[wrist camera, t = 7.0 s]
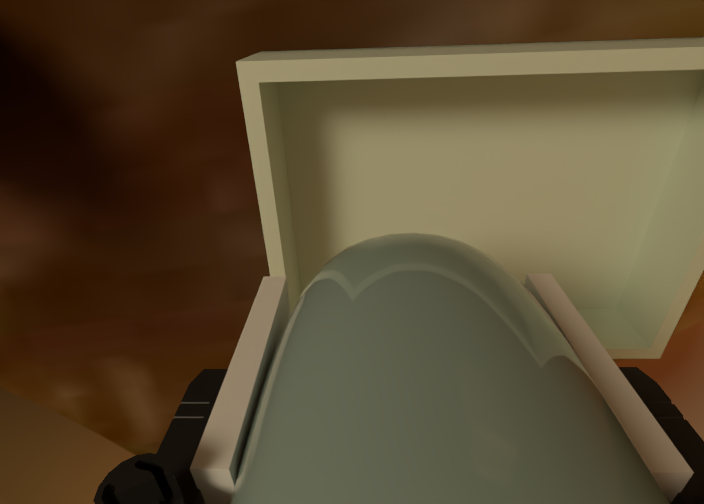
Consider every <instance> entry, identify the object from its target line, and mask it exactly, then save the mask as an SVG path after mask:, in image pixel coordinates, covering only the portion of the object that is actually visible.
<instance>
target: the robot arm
mask: <svg viewBox="0 0 704 504" xmlns="http://www.w3.org/2000/svg"><path fill="white" fill-rule="evenodd" d="M524 286H525V287H526V288H527V289H528V290H529V291H530V292H531V293H532V294H533V296H534V297H535V298H536V299H537V301H538V302H539V303H540V305H541V306H542V307H543V308H544V310H545V311H546V312H547V313H548V315H549V316H550V318H551V319H552V320H553V322H554V323H555V325H556V326H557V327H558V329H559V330H560V332H561V333H562V334H563V336H564V337H565V339H566V340H567V342H568V343H569V345H570V346H571V347H572V349H573V350H574V352H575V353H576V355H577V356H578V358H579V359H580V361H581V362H582V364H583V365H584V367H585V368H586V370H587V371H588V373H589V374H590V376H591V377H592V379H593V380H594V382H595V383H596V385H597V386H598V388H599V389H600V391H601V392H602V394H603V396H604V397H605V399H606V400H607V402H608V403H609V405H610V407H611V408H612V410H613V411H614V413H615V414H616V416H617V417H618V419H619V421H620V422H621V424H622V425H623V427H624V428H625V430H626V432H627V433H628V435H629V436H630V438H631V440H632V441H633V443H634V444H635V446H636V448H637V449H638V451H639V452H640V454H641V456H642V457H643V459H644V460H645V462H646V464H647V465H648V467H649V468H650V470H651V472H652V473H653V475H654V476H655V478H656V480H657V481H658V483H659V484H660V486H661V488H662V489H663V491H664V492H665V494H666V496H667V497H668V499H669V500H670V502H671V504H704V441H703V440H702V439H701V438H700V436H699V435H698V434H697V433H696V432H695V430H694V429H693V428H692V426H691V425H690V424H689V423H688V421H687V420H684V419H683V415H682V414H681V413H680V411H679V410H678V409H677V407H676V406H675V405H674V404H671V400H670V399H669V397H668V396H667V395H666V394H665V393H664V391H663V390H662V389H661V387H660V386H659V385H658V384H657V382H655V381H654V380H653V379H651V378H650V377H649V376H647V375H646V374H645V373H643V372H642V371H641V370H639V369H638V368H637V367H617V365H616V364H615V362H614V361H613V359H612V358H611V357H610V355H609V354H608V353H607V351H606V350H605V348H604V347H603V346H602V344H601V343H600V341H599V340H598V339H597V337H596V336H595V334H594V333H593V332H592V330H591V329H590V328H589V326H588V325H587V323H586V322H585V321H584V319H583V318H582V316H581V315H580V314H579V312H578V311H577V309H576V308H575V307H574V305H573V304H572V302H571V301H570V300H569V298H568V297H567V296H566V294H565V293H564V291H563V290H562V289H561V287H560V286H559V284H558V283H557V282H556V280H555V279H554V277H553V276H552V275H551V274H527V275H526V280H525V284H524ZM290 315H291V307H290V299H289V292H288V285H287V277H286V276H283V277H263V280H262V282H261V285H260V287H259V290H258V293H257V295H256V298H255V300H254V303H253V306H252V308H251V311H250V313H249V316H248V319H247V321H246V324H245V326H244V329H243V332H242V334H241V337H240V339H239V342H238V345H237V347H236V350H235V352H234V355H233V358H232V360H231V363H230V365H229V368H228V369H204V370H203V371H202V372H201V373H200V374H199V375H198V376H197V377H196V378H195V379H194V380H193V381H192V382H191V383H190V384H189V386H188V388H187V391H186V393H185V395H184V397H183V399H182V401H181V405H179V407H178V410H177V412H176V414H175V418H174V419H173V420H172V422H171V424H170V426H169V429H168V431H167V433H166V435H165V437H164V439H163V441H162V443H161V445H160V448H159V450H158V452H157V454H152V453H147V454H142V455H136V456H134V457H132V458H130V459H128V460H126V461H124V462H122V463H120V464H119V465H118V466H117V467H116V468H114V469H113V470H112V471H111V472H109V473H108V475H107V476H106V477H105V479H104V480H103V482H102V483H101V484H100V485H99V487H98V490H97V492H96V495H95V498H94V502H95V504H230V503H231V499H232V496H233V492H234V488H235V485H236V481H237V478H238V474H239V470H240V467H241V463H242V460H243V456H244V452H245V449H246V445H247V442H248V438H249V435H250V431H251V428H252V424H253V421H254V417H255V414H256V410H257V407H258V403H259V400H260V397H261V394H262V390H263V387H264V384H265V381H266V377H267V374H268V371H269V368H270V365H271V362H272V360H273V357H274V354H275V351H276V348H277V345H278V343H279V340H280V338H281V335H282V333H283V330H284V328H285V326H286V324H287V321H288V319H289V317H290Z"/></svg>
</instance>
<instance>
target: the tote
mask: <svg viewBox="0 0 704 504" xmlns="http://www.w3.org/2000/svg"><path fill="white" fill-rule="evenodd" d="M236 66H237V72H238V79H239V85H240V91H241V97H242V103H243V110H244V116H245V122H246V128H247V134H248V141H249V147H250V153H251V159H252V165H253V171H254V178H255V184H256V190H257V196H258V202H259V209H260V215H261V221H262V227H263V233H264V239H265V246H266V252H267V258H268V264H269V270H270V277H283V276H286V277H287V285H288V292H289V299H290V307H291V313H292V311H293V309H294V307H295V305H296V303H297V302H298V300H299V298H300V296H301V294H302V292H303V290H304V289H305V287H306V286H307V284H308V283H309V281H310V280H311V279H312V278H313V276H314V275H315V274H316V273H317V272H318V271H319V270H320V269H321V268H322V267H323V265H324V264H325V263H326V262H327V261H328V260H329V259H330V258H332V257H333V256H335V255H336V254H338V253H339V252H341V251H342V250H344V249H345V248H347V247H349V246H352V245H354V244H357V243H359V242H362V241H364V240H367V239H370V238H374V237H379V236H384V235H388V234H399V233H423V234H434V235H440V236H444V237H448V238H452V239H456V240H460V241H462V242H464V243H466V244H469V245H471V246H473V247H475V248H477V249H479V250H481V251H483V252H485V253H487V254H488V255H490V256H491V257H492V258H494V259H495V260H496V261H497V262H499V263H500V264H501V265H502V266H504V267H505V268H506V269H507V270H509V271H510V272H511V273H512V274H513V275H514V276H515V277H517V278H518V279H519V280H520V281H521V282H522V283H523V285H524V284H525V280H526V275H527V274H551V275H552V276H553V277H554V279H555V280H556V282H557V283H558V284H559V286H560V287H561V289H562V290H563V291H564V293H565V294H566V296H567V297H568V298H569V300H570V301H571V302H572V304H573V305H574V307H575V308H576V309H577V311H578V312H579V314H580V315H581V316H582V318H583V319H584V321H585V322H586V323H587V325H588V326H589V328H590V329H591V330H592V332H593V333H594V334H595V336H596V337H597V339H598V340H599V341H600V343H601V344H602V346H603V347H604V348H605V350H606V351H607V353H608V354H609V355H610V357H611V358H612V359H660V357H661V355H662V353H663V351H664V349H665V347H666V345H667V343H668V341H669V339H670V337H671V335H672V333H673V331H674V329H675V327H676V325H677V323H678V321H679V319H680V317H681V315H682V313H683V311H684V309H685V307H686V305H687V303H688V301H689V298H690V296H691V294H692V292H693V290H694V288H695V286H696V284H697V282H698V280H699V278H700V276H701V274H702V272H703V270H704V37H697V38H667V39H636V40H606V41H575V42H544V43H514V44H483V45H452V46H422V47H391V48H361V49H330V50H299V51H269V52H259V53H256V54H254V55H251V56H249V57H246V58H244V59H241V60H239V61H236Z"/></svg>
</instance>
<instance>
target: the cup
mask: <svg viewBox="0 0 704 504" xmlns="http://www.w3.org/2000/svg"><path fill="white" fill-rule="evenodd" d="M230 504H671V502H670V500H669V499H668V497H667V496H666V494H665V492H664V491H663V489H662V488H661V486H660V484H659V483H658V481H657V480H656V478H655V476H654V475H653V473H652V472H651V470H650V468H649V467H648V465H647V464H646V462H645V460H644V459H643V457H642V456H641V454H640V452H639V451H638V449H637V448H636V446H635V444H634V443H633V441H632V440H631V438H630V436H629V435H628V433H627V432H626V430H625V428H624V427H623V425H622V424H621V422H620V421H619V419H618V417H617V416H616V414H615V413H614V411H613V410H612V408H611V407H610V405H609V403H608V402H607V400H606V399H605V397H604V396H603V394H602V392H601V391H600V389H599V388H598V386H597V385H596V383H595V382H594V380H593V379H592V377H591V376H590V374H589V373H588V371H587V370H586V368H585V367H584V365H583V364H582V362H581V361H580V359H579V358H578V356H577V355H576V353H575V352H574V350H573V349H572V347H571V346H570V345H569V343H568V342H567V340H566V339H565V337H564V336H563V334H562V333H561V332H560V330H559V329H558V327H557V326H556V325H555V323H554V322H553V320H552V319H551V318H550V316H549V315H548V313H547V312H546V311H545V310H544V308H543V307H542V306H541V305H540V303H539V302H538V301H537V299H536V298H535V297H534V296H533V294H532V293H531V292H530V291H529V290H528V289H527V288H526V287H525V286H524V285H523V283H522V282H521V281H520V280H519V279H518V278H517V277H515V276H514V275H513V274H512V273H511V272H510V271H509V270H507V269H506V268H505V267H504V266H502V265H501V264H500V263H499V262H497V261H496V260H495V259H494V258H492V257H491V256H490V255H488V254H487V253H485V252H483V251H481V250H479V249H477V248H475V247H473V246H471V245H469V244H466V243H464V242H462V241H460V240H456V239H452V238H448V237H444V236H440V235H434V234H423V233H399V234H388V235H384V236H379V237H374V238H370V239H367V240H364V241H362V242H359V243H357V244H354V245H352V246H349V247H347V248H345V249H344V250H342V251H341V252H339V253H338V254H336V255H335V256H333V257H332V258H330V259H329V260H328V261H327V262H326V263H325V264H324V265H323V267H322V268H321V269H320V270H319V271H318V272H317V273H316V274H315V275H314V276H313V278H312V279H311V280H310V281H309V283H308V284H307V286H306V287H305V289H304V290H303V292H302V294H301V296H300V298H299V300H298V302H297V303H296V305H295V307H294V309H293V311H292V313H291V315H290V317H289V319H288V321H287V324H286V326H285V328H284V330H283V333H282V335H281V338H280V340H279V343H278V345H277V348H276V351H275V354H274V357H273V360H272V362H271V365H270V368H269V371H268V374H267V377H266V381H265V384H264V387H263V390H262V394H261V397H260V400H259V403H258V407H257V410H256V414H255V417H254V421H253V424H252V428H251V431H250V435H249V438H248V442H247V445H246V449H245V452H244V456H243V460H242V463H241V467H240V470H239V474H238V478H237V481H236V485H235V488H234V492H233V496H232V499H231V503H230Z"/></svg>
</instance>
